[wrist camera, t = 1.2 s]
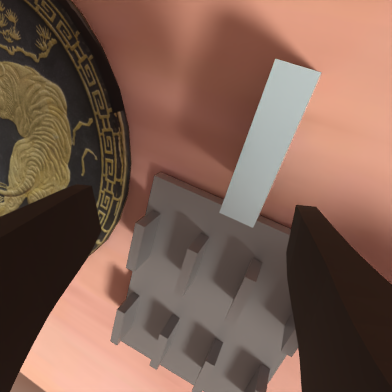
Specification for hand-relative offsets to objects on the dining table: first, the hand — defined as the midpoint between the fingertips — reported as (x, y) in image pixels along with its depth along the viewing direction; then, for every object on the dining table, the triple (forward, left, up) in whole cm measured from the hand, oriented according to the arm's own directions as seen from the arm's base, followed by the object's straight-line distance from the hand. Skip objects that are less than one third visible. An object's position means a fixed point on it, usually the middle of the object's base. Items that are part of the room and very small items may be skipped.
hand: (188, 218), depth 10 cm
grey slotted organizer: (-1, +14, -11) cm, 18 cm away
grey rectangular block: (-1, -2, -12) cm, 12 cm away
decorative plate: (+24, +7, -12) cm, 28 cm away
